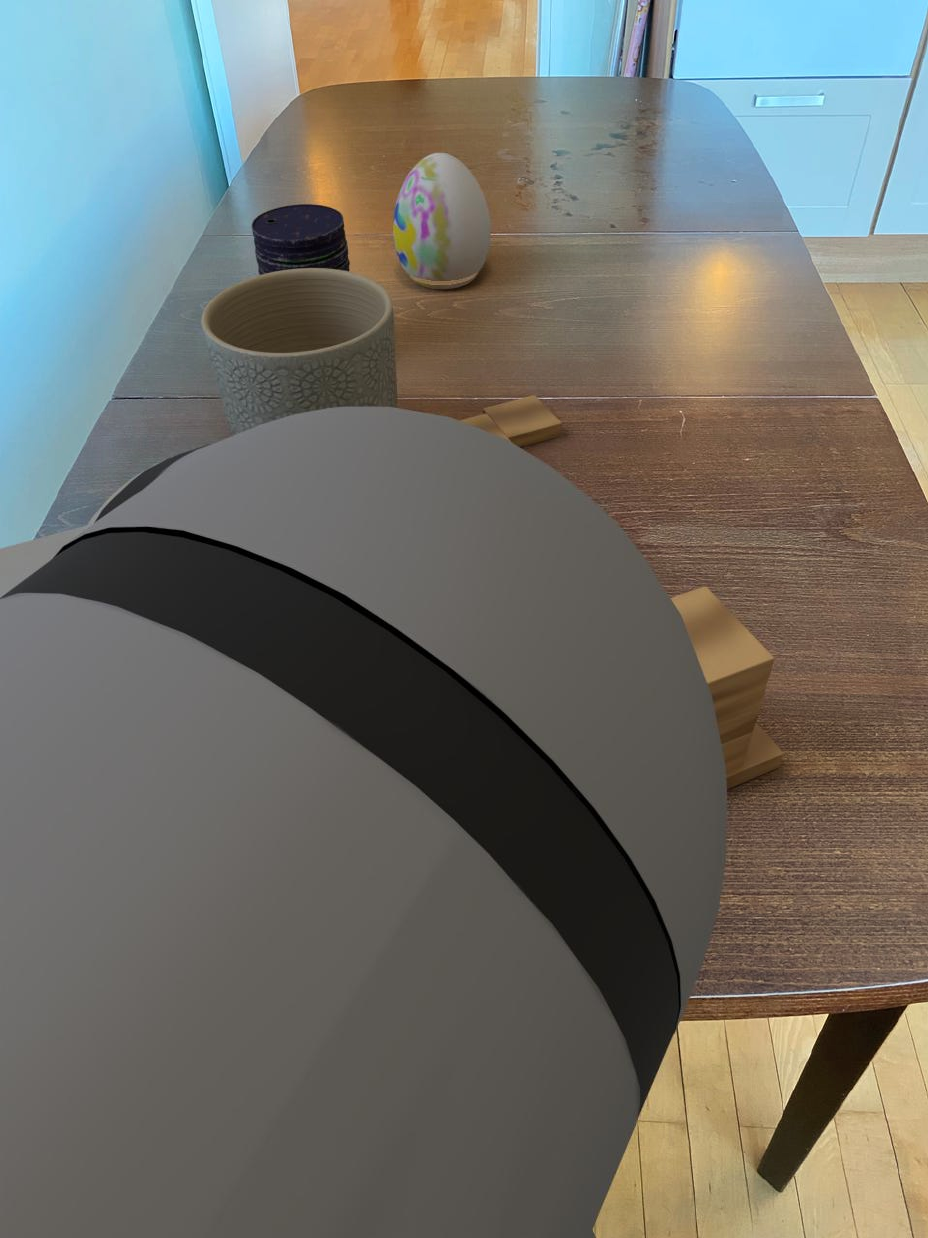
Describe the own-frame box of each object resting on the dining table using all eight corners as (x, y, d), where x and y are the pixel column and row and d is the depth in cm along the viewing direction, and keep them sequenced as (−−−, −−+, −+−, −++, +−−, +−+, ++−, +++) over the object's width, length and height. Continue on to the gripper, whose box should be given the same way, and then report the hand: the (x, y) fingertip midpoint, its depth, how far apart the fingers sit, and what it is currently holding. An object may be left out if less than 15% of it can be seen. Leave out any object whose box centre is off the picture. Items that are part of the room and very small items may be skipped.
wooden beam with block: (849, 738, 67) (898, 616, 59) (681, 808, 63) (708, 689, 55) (534, 407, 100) (537, 299, 91) (410, 440, 96) (402, 330, 88)
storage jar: (366, 332, 113) (352, 204, 102) (351, 374, 106) (335, 241, 95) (284, 330, 114) (263, 203, 103) (264, 372, 107) (238, 239, 96)
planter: (390, 398, 102) (377, 258, 91) (418, 489, 90) (407, 340, 79) (231, 419, 100) (199, 278, 89) (238, 516, 88) (202, 366, 77)
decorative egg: (383, 268, 126) (372, 147, 115) (466, 249, 129) (463, 131, 119) (418, 305, 117) (411, 179, 107) (507, 284, 121) (507, 160, 111)
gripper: (-43, 850, 53) (354, 712, 60) (-28, 1069, 44) (435, 879, 51) (-102, 769, 48) (340, 627, 54) (-98, 999, 39) (427, 797, 46)
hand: (386, 749), depth 53 cm, fingers closed
